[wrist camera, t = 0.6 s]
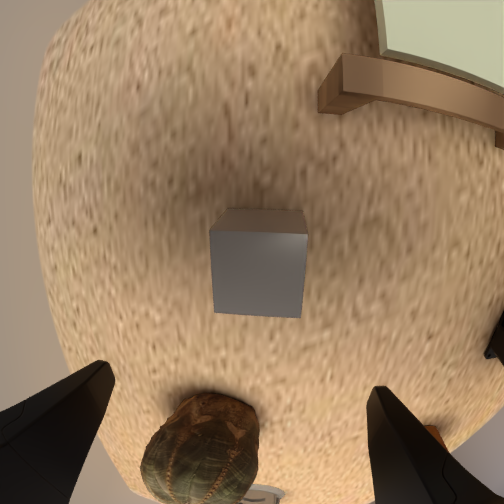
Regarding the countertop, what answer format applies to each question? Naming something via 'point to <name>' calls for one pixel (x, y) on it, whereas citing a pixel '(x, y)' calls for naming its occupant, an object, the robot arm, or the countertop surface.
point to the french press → (262, 495)
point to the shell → (203, 452)
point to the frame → (408, 91)
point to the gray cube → (259, 262)
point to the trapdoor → (446, 36)
